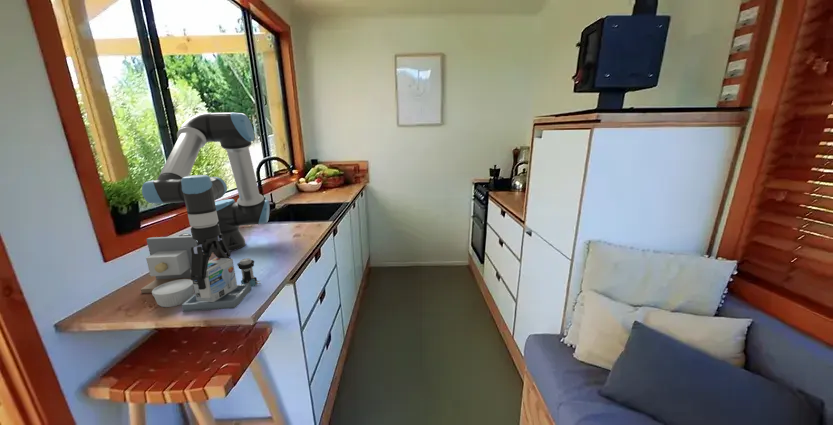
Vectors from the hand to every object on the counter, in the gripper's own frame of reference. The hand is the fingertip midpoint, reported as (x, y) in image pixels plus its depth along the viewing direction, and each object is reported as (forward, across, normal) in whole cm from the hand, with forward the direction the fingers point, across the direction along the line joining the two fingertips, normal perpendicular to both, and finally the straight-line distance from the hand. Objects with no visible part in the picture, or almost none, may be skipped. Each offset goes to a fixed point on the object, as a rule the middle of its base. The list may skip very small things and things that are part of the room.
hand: (216, 287), depth 103 cm
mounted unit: (+5, -14, -22) cm, 27 cm away
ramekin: (+5, -2, -15) cm, 16 cm away
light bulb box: (+2, 0, 0) cm, 2 cm away
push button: (+5, -10, +6) cm, 13 cm away
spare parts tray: (+5, 0, 0) cm, 5 cm away
